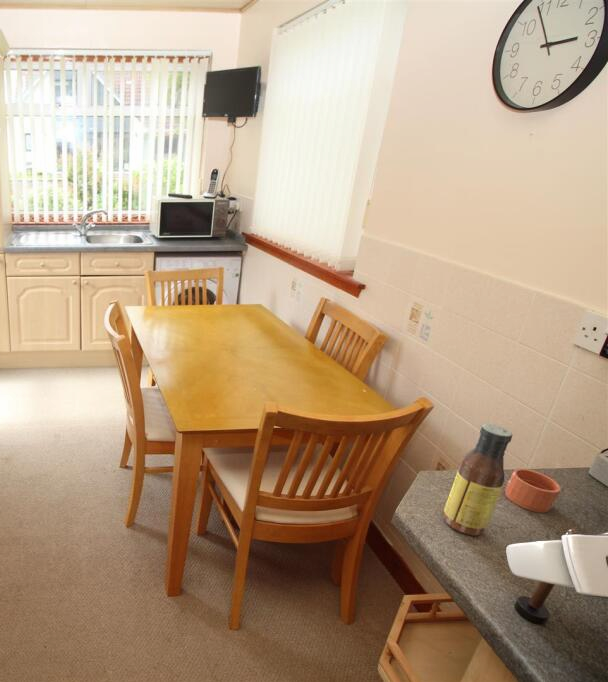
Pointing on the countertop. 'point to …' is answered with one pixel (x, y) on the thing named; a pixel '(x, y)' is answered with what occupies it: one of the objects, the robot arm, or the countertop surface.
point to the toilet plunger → (537, 600)
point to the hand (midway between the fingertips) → (551, 564)
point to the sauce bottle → (478, 482)
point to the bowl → (532, 490)
